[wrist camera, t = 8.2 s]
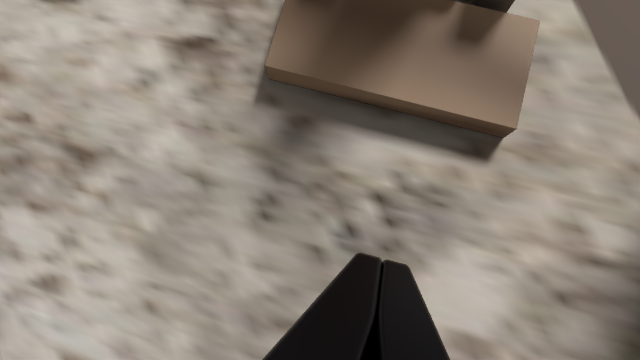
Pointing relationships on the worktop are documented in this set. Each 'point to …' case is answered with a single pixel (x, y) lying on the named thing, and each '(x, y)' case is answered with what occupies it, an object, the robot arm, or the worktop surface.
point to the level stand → (411, 57)
